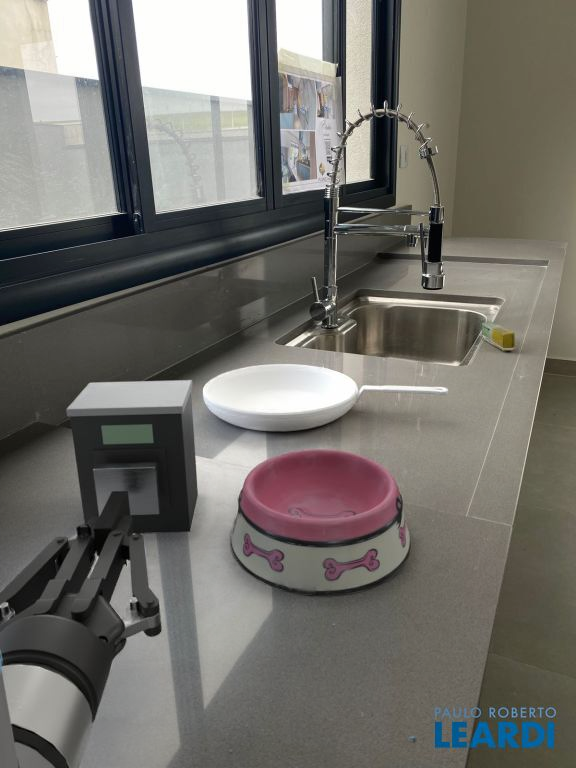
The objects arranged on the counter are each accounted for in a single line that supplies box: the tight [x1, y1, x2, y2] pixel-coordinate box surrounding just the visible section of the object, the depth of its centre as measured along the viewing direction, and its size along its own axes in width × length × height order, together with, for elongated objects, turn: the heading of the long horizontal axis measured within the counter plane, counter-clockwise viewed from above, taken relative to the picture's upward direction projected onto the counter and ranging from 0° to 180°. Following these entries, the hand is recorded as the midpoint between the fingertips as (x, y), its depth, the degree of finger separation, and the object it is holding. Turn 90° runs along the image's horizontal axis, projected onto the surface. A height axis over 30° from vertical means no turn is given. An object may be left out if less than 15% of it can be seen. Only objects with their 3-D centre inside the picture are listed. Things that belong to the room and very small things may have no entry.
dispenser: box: [65, 379, 199, 535], centre depth 66 cm, size 8×11×14 cm
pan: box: [202, 363, 449, 432], centre depth 97 cm, size 25×39×4 cm, turn 82°
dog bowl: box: [229, 448, 412, 596], centre depth 62 cm, size 18×19×7 cm
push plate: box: [93, 462, 161, 516], centre depth 60 cm, size 1×6×5 cm, turn 92°
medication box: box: [481, 321, 516, 352], centre depth 134 cm, size 12×3×4 cm, turn 5°
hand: (121, 503), depth 57 cm, fingers closed
